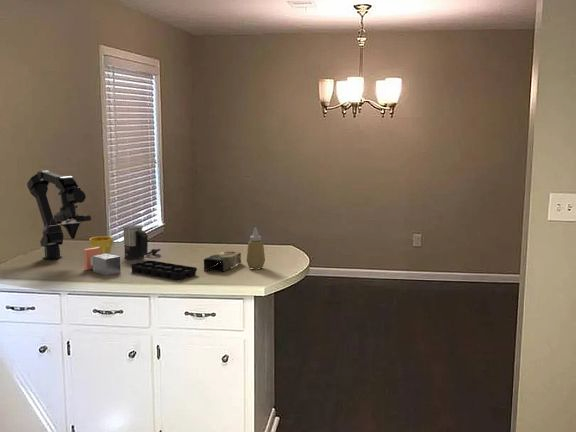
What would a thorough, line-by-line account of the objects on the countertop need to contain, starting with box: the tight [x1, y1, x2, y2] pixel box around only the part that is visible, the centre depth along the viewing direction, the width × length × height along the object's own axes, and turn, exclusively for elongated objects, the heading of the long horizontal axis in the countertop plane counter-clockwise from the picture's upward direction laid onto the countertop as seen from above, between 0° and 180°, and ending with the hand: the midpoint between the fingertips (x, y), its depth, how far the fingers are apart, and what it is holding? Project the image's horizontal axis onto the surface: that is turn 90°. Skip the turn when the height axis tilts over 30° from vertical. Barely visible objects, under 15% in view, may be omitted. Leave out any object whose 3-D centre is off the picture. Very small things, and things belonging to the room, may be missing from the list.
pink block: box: [83, 247, 101, 271], centre depth 293 cm, size 10×7×9 cm, turn 49°
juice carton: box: [203, 251, 242, 273], centre depth 298 cm, size 20×10×6 cm, turn 160°
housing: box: [92, 253, 122, 276], centre depth 289 cm, size 10×7×7 cm
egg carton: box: [129, 260, 198, 281], centre depth 287 cm, size 18×30×4 cm, turn 68°
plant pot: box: [89, 235, 114, 254], centre depth 316 cm, size 10×10×10 cm
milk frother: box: [122, 224, 161, 260], centre depth 321 cm, size 14×16×15 cm
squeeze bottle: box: [246, 227, 266, 269], centre depth 294 cm, size 8×8×18 cm
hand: (73, 238), depth 305 cm, fingers closed
